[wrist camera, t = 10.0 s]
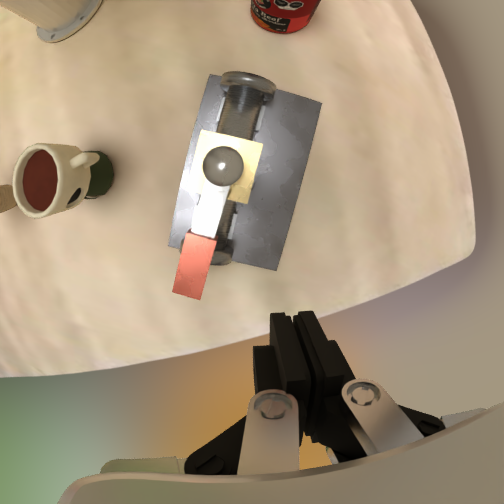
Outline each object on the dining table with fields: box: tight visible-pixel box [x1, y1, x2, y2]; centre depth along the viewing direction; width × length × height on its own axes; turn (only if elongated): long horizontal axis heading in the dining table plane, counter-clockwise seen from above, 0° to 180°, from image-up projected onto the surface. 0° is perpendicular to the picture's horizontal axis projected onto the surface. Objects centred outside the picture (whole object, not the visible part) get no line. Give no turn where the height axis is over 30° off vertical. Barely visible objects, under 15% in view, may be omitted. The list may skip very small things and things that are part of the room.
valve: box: [168, 71, 322, 271], centre depth 29 cm, size 22×14×7 cm, turn 166°
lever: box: [172, 146, 244, 300], centre depth 26 cm, size 14×4×2 cm, turn 162°
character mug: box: [12, 143, 114, 219], centre depth 25 cm, size 11×7×13 cm, turn 107°
